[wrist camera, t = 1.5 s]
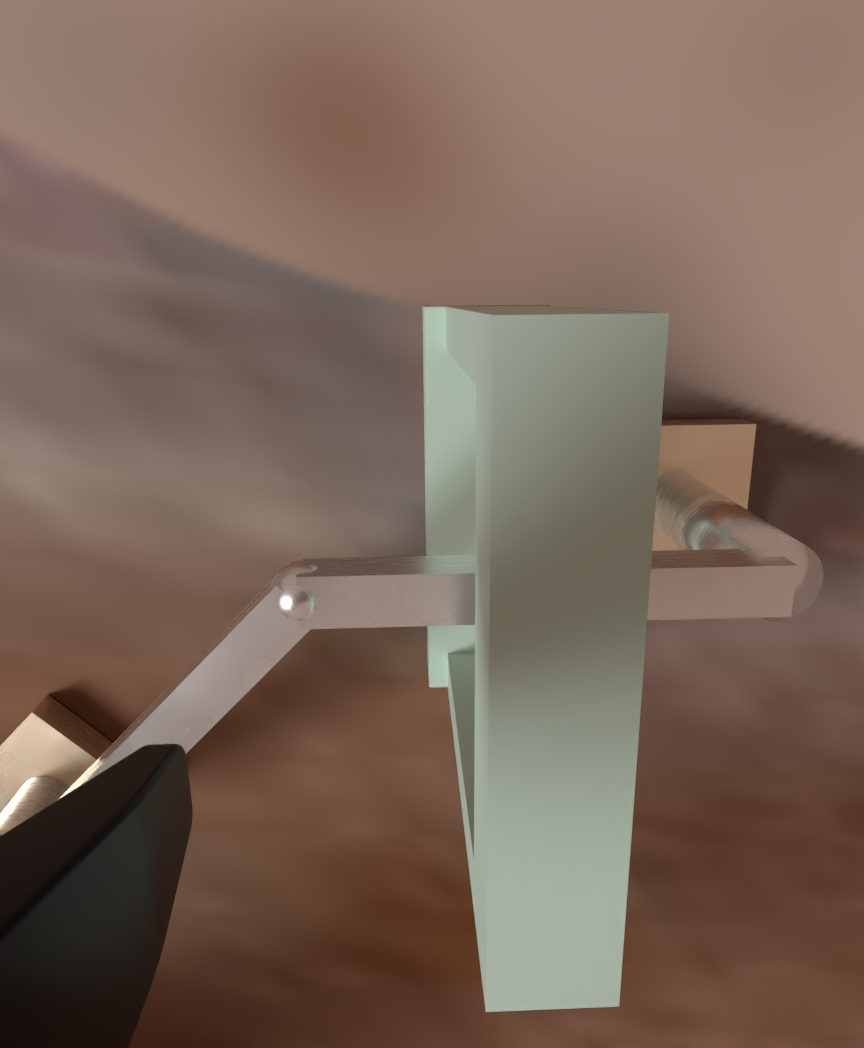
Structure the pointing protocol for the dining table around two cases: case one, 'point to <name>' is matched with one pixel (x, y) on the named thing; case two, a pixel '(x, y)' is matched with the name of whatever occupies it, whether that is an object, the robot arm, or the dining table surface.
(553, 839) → the mint green frame
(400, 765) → the dining table surface
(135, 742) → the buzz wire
